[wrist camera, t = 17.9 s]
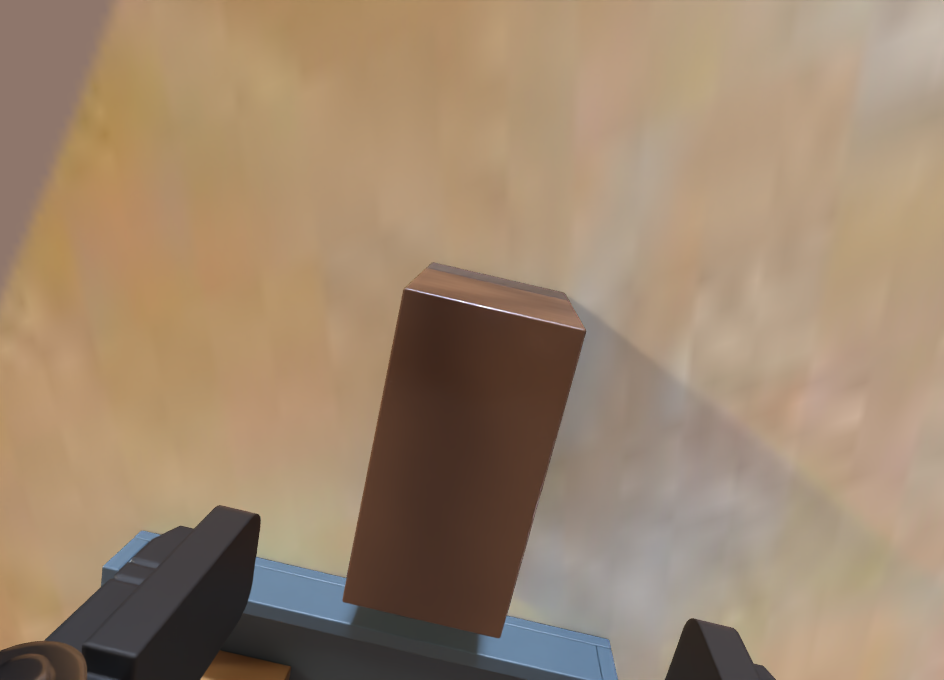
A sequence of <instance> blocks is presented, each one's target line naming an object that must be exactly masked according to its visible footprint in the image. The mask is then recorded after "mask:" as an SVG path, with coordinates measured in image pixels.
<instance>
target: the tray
mask: <svg viewBox="0 0 944 680" xmlns="http://www.w3.org/2000/svg"><path fill="white" fill-rule="evenodd" d="M158 536H160V535H159V534H155V533H151V532H146V531H140V532H139V533H138V534H137V535H136V536H135V537H134V538H133V539H132V540H131V541H130V542H129V543H128V544H127V545H125V546H124V547H123V548H122V549H121V550H120V551H119V552H118V553H117V554H116V555H115V556H114V557H112V558H111V559H110V560H109V561H108V562H107V563H106V564H105V565H104V566H103V568H102V581H101V587H102V586H103V585H104V584H105V583H106V582H107V581H108V580H109V579H110V578H111V579H113V578H114V576H115V574H116V573H117V572H118V571H119V570H120V569H121V568H122V567H123V566H124V565H125V564H126V563H127V562H131V560H132V558H133V557H134V556H135V555H136V554H137V553H138V552H139V551H140V550H141V549H142V548H143V547H144V546H145V545H146V544H147V543H149V542H150V541H151V540H152V539H154V538H156V537H158ZM345 583H346V578H343V577H339V576H335V575H331V574H326V573H322V572H318V571H313V570H309V569H305V568H301V567H296V566H292V565H288V564H283V563H279V562H275V561H271V560H266V559H262V558H258V557H256V561H255V568H254V576H253V583H252V588H251V593H250V596H249V599H248V602H247V605H246V607H245V610H244V612H243V614H242V616H241V618H240V620H239V622H238V623H237V625H236V626H235V628H234V629H233V631H232V632H231V634H230V635H229V637H228V638H227V640H226V641H225V643H224V645H223V646H222V648H221V649H220V650H221V651H225V652H230V653H234V654H239V655H243V656H247V657H252V658H256V659H261V660H265V661H270V662H274V663H278V664H283V665H287V666H291V672H290V678H289V680H618V677H617V673H616V668H615V664H614V660H613V655H612V651H611V646H610V641H609V640H608V639H605V638H600V637H596V636H592V635H588V634H583V633H579V632H575V631H570V630H566V629H562V628H558V627H553V626H549V625H545V624H540V623H536V622H532V621H528V620H523V619H519V618H515V617H510V616H506V620H505V624H504V627H503V631H502V634H501V637H500V638H494V637H490V636H485V635H481V634H477V633H473V632H468V631H464V630H460V629H455V628H451V627H447V626H443V625H438V624H434V623H430V622H426V621H421V620H417V619H413V618H408V617H404V616H400V615H396V614H391V613H387V612H383V611H378V610H374V609H370V608H366V607H361V606H357V605H353V604H349V603H344V602H343V601H342V598H343V593H344V588H345Z"/></svg>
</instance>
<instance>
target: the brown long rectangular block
mask: <svg viewBox="0 0 944 680" xmlns="http://www.w3.org/2000/svg"><path fill="white" fill-rule="evenodd" d="M585 334H586V329H585V328H584V326H583V324H582V322H581V321H580V319H579V317H578V315H577V314H576V312H575V310H574V308H573V307H572V305H571V303H570V301H569V299H568V298H567V296H566V294H565V293H563V292H559V291H555V290H550V289H546V288H542V287H537V286H533V285H529V284H524V283H520V282H516V281H511V280H507V279H503V278H498V277H494V276H490V275H486V274H481V273H477V272H473V271H468V270H464V269H460V268H455V267H451V266H447V265H442V264H438V263H434V262H433V263H431V264H430V265H429V266H428V267H427V268H426V269H425V270H424V271H422V272H421V273H420V274H419V275H418V276H417V277H416V278H415V279H414V280H413V281H412V282H410V283H409V284H408V285H407V286H406V287H405V288H404V289H403V294H402V300H401V305H400V310H399V315H398V320H397V325H396V330H395V335H394V340H393V345H392V350H391V355H390V360H389V365H388V370H387V375H386V381H385V386H384V391H383V396H382V401H381V406H380V411H379V416H378V421H377V426H376V431H375V436H374V441H373V446H372V451H371V456H370V462H369V467H368V472H367V477H366V482H365V487H364V492H363V497H362V502H361V507H360V512H359V517H358V522H357V527H356V532H355V537H354V543H353V548H352V553H351V558H350V563H349V568H348V573H347V578H346V583H345V588H344V593H343V598H342V601H343V602H344V603H349V604H353V605H357V606H361V607H366V608H370V609H374V610H378V611H383V612H387V613H391V614H396V615H400V616H404V617H408V618H413V619H417V620H421V621H426V622H430V623H434V624H438V625H443V626H447V627H451V628H455V629H460V630H464V631H468V632H473V633H477V634H481V635H485V636H490V637H494V638H500V637H501V634H502V631H503V627H504V624H505V620H506V616H507V613H508V609H509V606H510V602H511V599H512V595H513V591H514V588H515V584H516V581H517V577H518V574H519V570H520V566H521V563H522V559H523V556H524V552H525V549H526V545H527V541H528V538H529V534H530V531H531V527H532V523H533V520H534V516H535V513H536V509H537V506H538V502H539V498H540V495H541V491H542V488H543V484H544V481H545V477H546V473H547V470H548V466H549V463H550V459H551V456H552V452H553V448H554V445H555V441H556V438H557V434H558V430H559V427H560V423H561V420H562V416H563V413H564V409H565V405H566V402H567V398H568V395H569V391H570V388H571V384H572V380H573V377H574V373H575V370H576V366H577V363H578V359H579V355H580V352H581V348H582V345H583V341H584V337H585Z"/></svg>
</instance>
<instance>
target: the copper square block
mask: <svg viewBox="0 0 944 680" xmlns="http://www.w3.org/2000/svg"><path fill="white" fill-rule="evenodd" d="M290 672H291V666H287V665H283V664H278V663H274V662H270V661H265V660H261V659H256V658H252V657H247V656H243V655H239V654H234V653H230V652H225V651H221V650H220V651H219V652H218V654H217V655H216V657H215V658H214V660H213V661H212V663H211V664H210V666H209V667H208V669H207V670H206V672H205V673H204V675H203V676H202V678H201V679H200V680H289V678H290Z"/></svg>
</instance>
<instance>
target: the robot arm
mask: <svg viewBox="0 0 944 680" xmlns="http://www.w3.org/2000/svg"><path fill="white" fill-rule="evenodd" d="M260 521H261V520H260V516H259V514H255V513H251V512H247V511H242V510H238V509H234V508H230V507H226V506H221V505H219V506H217V507H215V508H214V509H213V510H212V511H211V512H210V513H209V514H208V515H207V516H206V517H205V518H204V519H203V520H202V521H201V522H200V523H199V524H198V525H197V526H196V527H195V528H194V529H192V528H188V527H184V526H179V527H177V528H174V529H172V530H170V531H168V532H166V533H164V534H162V535H160V536H158V537H156V538H154V539H152V540H151V541H150V542H149V543H147V544H146V545H145V546H144V547H143V548H142V549H141V550H140V551H139V552H138V553H137V554H136V555H135V556H134V557H133V558H132V560H131V562H127V563H126V564H125V565H124V566H123V567H122V568H121V569H120V570H119V571H118V572H117V573H116V574H115V576H114V578H113V579H111V578H110V579H109V580H108V581H107V582H106V583H105V584H104V585H103V586H102V587H101V588H100V589H99V590H97V591H96V592H95V593H94V594H93V595H92V596H91V597H90V598H89V599H88V600H87V601H86V602H85V603H84V604H83V605H82V606H80V607H79V608H78V609H77V610H76V611H75V612H74V613H73V614H72V615H71V616H70V617H69V618H68V619H67V620H66V621H65V622H63V623H62V624H61V625H60V626H59V627H58V628H57V629H56V630H55V631H54V632H53V633H52V634H51V635H50V636H49V637H47V638H46V639H45V640H44V641H35V642H29V643H23V644H19V645H16V646H12V647H9V648H7V649H4V650H1V651H0V680H200V679H201V678H202V676H203V675H204V673H205V672H206V670H207V669H208V667H209V666H210V664H211V663H212V661H213V660H214V658H215V657H216V655H217V654H218V652H219V651H220V649H221V648H222V646H223V645H224V643H225V641H226V640H227V638H228V637H229V635H230V634H231V632H232V631H233V629H234V628H235V626H236V625H237V623H238V622H239V620H240V618H241V616H242V614H243V612H244V610H245V607H246V605H247V602H248V599H249V596H250V593H251V588H252V583H253V576H254V568H255V561H256V554H257V546H258V539H259V532H260ZM665 680H776V679H775V678H774V677H773V676H772V675H771V674H770V673H769V672H768V671H767V669H766V668H765V667H764V666H762V665H757V664H753V662H752V660H751V658H750V656H749V654H748V652H747V650H746V647H745V645H744V643H743V641H742V639H741V637H740V635H739V634H738V632H737V631H736V630H735V629H734V628H731V627H727V626H723V625H719V624H714V623H710V622H706V621H702V620H697V619H693V618H692V619H689V620H688V621H687V622H686V624H685V626H684V628H683V631H682V634H681V637H680V639H679V642H678V645H677V648H676V651H675V653H674V656H673V659H672V662H671V665H670V667H669V670H668V673H667V676H666V678H665Z"/></svg>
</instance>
